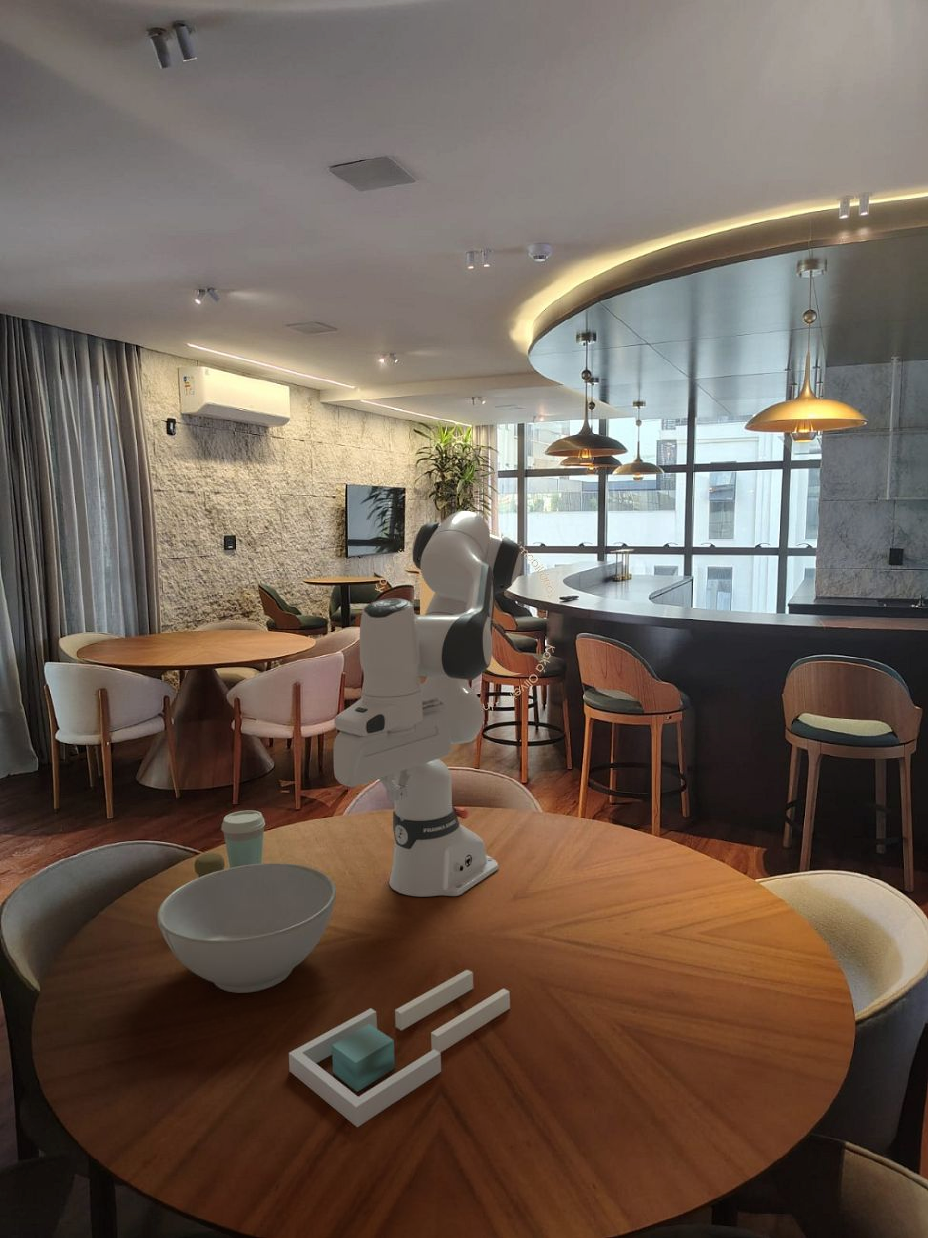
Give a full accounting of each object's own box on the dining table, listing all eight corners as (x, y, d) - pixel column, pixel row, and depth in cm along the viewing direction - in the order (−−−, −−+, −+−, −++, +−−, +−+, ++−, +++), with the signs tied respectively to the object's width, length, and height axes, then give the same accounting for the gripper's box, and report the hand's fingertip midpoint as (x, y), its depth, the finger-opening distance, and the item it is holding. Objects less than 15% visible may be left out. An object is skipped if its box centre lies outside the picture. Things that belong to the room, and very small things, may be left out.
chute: (467, 985, 122) (467, 969, 122) (510, 1008, 116) (509, 991, 115) (395, 1027, 112) (394, 1010, 112) (437, 1054, 106) (437, 1036, 106)
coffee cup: (276, 867, 167) (272, 811, 166) (252, 885, 159) (248, 826, 158) (240, 863, 170) (237, 807, 168) (215, 880, 162) (211, 822, 160)
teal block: (370, 1052, 107) (369, 1024, 107) (395, 1069, 104) (393, 1040, 103) (333, 1074, 103) (331, 1045, 103) (357, 1093, 99) (355, 1063, 99)
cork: (235, 906, 150) (231, 849, 149) (222, 922, 144) (218, 862, 143) (203, 905, 151) (199, 848, 150) (189, 921, 145) (185, 862, 144)
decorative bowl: (123, 1002, 120) (116, 924, 119) (236, 919, 145) (232, 854, 144) (275, 1039, 110) (270, 954, 109) (369, 943, 135) (366, 874, 134)
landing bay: (371, 1025, 113) (370, 1008, 112) (441, 1071, 103) (440, 1053, 102) (289, 1071, 104) (288, 1053, 103) (357, 1127, 93) (356, 1107, 93)
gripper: (430, 693, 130) (434, 776, 132) (324, 720, 116) (330, 813, 118) (458, 698, 126) (461, 784, 127) (350, 727, 111) (357, 823, 113)
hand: (398, 798), depth 123 cm, fingers closed
